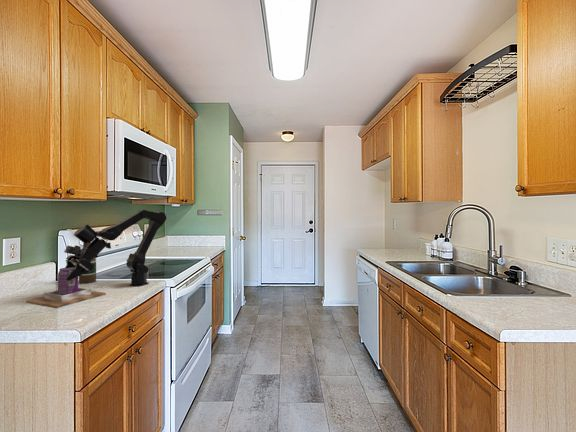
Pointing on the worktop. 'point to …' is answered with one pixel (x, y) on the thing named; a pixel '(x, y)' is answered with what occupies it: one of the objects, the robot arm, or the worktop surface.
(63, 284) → the beverage can
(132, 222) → the robot arm
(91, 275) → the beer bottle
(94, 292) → the can holder
